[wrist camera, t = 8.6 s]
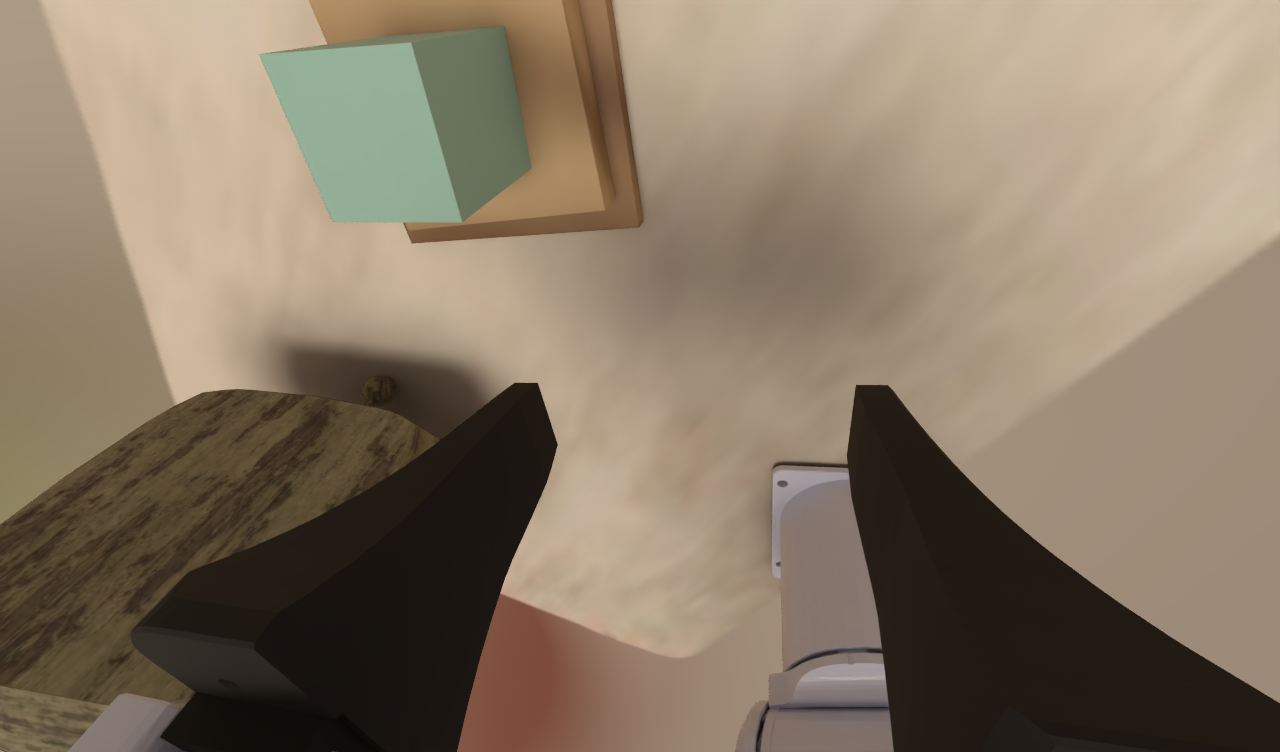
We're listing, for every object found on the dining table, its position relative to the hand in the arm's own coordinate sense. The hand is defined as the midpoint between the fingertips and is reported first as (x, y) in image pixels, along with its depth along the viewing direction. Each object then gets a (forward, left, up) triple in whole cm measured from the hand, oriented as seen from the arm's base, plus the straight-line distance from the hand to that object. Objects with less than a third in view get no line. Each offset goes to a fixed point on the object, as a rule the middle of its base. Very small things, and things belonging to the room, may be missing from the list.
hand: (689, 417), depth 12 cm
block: (+6, +8, -8) cm, 13 cm away
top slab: (+6, +8, -10) cm, 14 cm away
